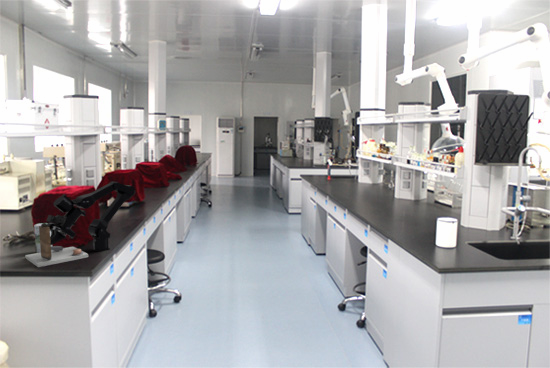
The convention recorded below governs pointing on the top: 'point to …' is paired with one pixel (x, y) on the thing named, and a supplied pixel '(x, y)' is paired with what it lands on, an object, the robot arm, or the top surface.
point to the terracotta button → (76, 251)
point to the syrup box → (38, 237)
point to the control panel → (55, 257)
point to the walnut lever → (45, 241)
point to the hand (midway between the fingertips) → (48, 245)
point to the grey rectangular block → (56, 248)
